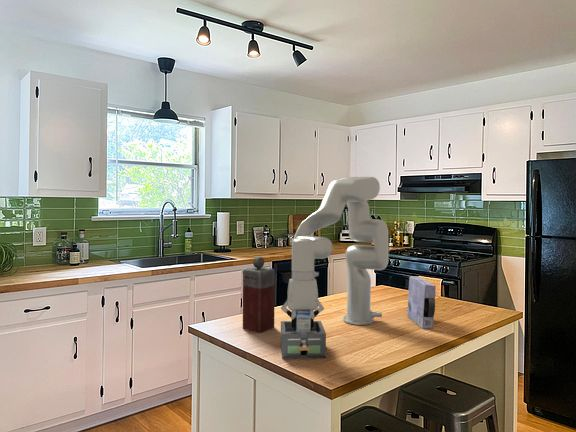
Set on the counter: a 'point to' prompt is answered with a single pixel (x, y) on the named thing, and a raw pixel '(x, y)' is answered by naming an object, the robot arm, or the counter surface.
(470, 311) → the counter surface
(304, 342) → the light grey flat panel
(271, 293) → the red square decanter
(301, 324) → the medicine box
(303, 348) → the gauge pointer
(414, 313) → the cake pan box
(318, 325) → the grey hollow square box
